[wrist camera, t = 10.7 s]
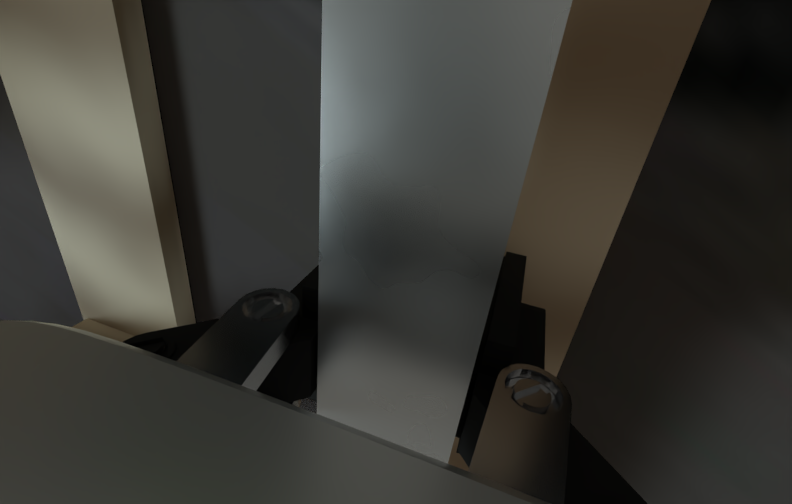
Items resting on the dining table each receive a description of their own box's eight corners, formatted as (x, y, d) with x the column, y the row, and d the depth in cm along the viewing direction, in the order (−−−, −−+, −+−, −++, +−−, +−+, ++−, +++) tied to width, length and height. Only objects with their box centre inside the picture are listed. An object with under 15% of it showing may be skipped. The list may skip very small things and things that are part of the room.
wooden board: (360, -300, 8) (347, -323, 8) (840, -343, 6) (865, -376, 6) (329, 453, 20) (323, 464, 19) (493, 520, 18) (491, 534, 17)
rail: (440, -459, 5) (334, -938, 3) (702, -503, 4) (902, -1221, 2) (350, 530, 17) (314, 617, 14) (419, 561, 16) (395, 659, 13)
